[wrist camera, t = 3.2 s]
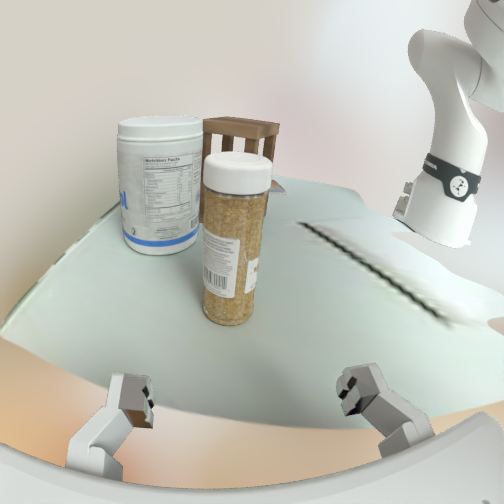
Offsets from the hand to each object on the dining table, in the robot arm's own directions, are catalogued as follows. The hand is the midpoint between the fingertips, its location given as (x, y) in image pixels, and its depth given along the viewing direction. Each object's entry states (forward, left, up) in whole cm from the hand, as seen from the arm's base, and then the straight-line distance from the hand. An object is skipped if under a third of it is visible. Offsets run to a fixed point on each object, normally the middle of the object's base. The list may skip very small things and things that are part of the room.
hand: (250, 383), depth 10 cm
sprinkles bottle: (-11, -6, -8) cm, 15 cm away
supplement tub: (-18, -19, -8) cm, 27 cm away
